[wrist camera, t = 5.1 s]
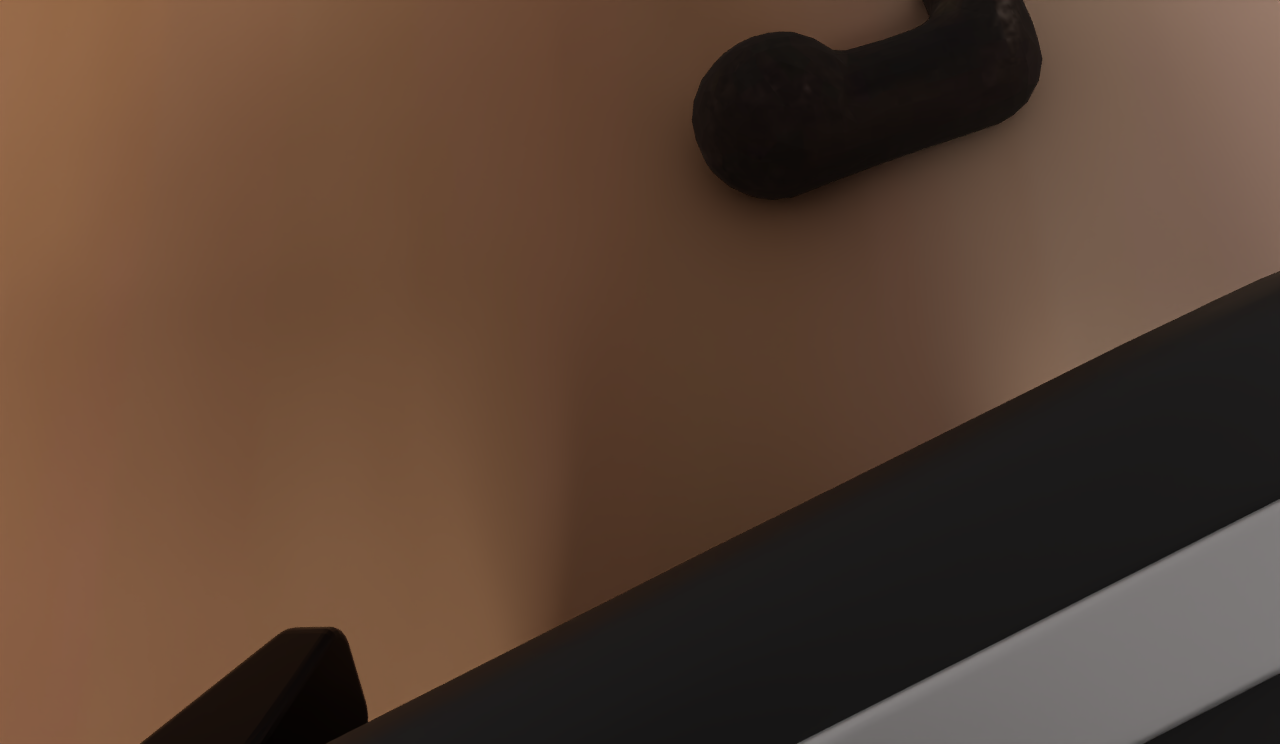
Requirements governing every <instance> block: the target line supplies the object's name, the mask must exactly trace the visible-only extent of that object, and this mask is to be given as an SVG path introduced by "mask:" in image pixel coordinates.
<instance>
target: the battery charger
mask: <svg viewBox="0 0 1280 744" xmlns="http://www.w3.org/2000/svg"><path fill="white" fill-rule="evenodd" d="M326 744H1280V271H1279V272H1277V273H1274V274H1272V275H1269V276H1267V277H1264V278H1262V279H1259V280H1257V281H1255V282H1253V283H1251V284H1249V285H1247V286H1244V287H1242V288H1240V289H1238V290H1236V291H1234V292H1232V293H1229V294H1227V295H1225V296H1223V297H1221V298H1219V299H1217V300H1215V301H1213V302H1210V303H1208V304H1206V305H1204V306H1202V307H1200V308H1198V309H1196V310H1194V311H1192V312H1189V313H1187V314H1185V315H1183V316H1181V317H1179V318H1177V319H1175V320H1173V321H1171V322H1168V323H1166V324H1164V325H1162V326H1160V327H1158V328H1156V329H1154V330H1152V331H1150V332H1148V333H1145V334H1143V335H1141V336H1139V337H1137V338H1135V339H1133V340H1131V341H1129V342H1127V343H1124V344H1122V345H1120V346H1118V347H1116V348H1114V349H1112V350H1110V351H1108V352H1106V353H1104V354H1102V355H1100V356H1098V357H1096V358H1094V359H1092V360H1090V361H1088V362H1086V363H1084V364H1082V365H1080V366H1078V367H1076V368H1074V369H1072V370H1070V371H1068V372H1066V373H1064V374H1062V375H1060V376H1058V377H1056V378H1054V379H1052V380H1050V381H1048V382H1046V383H1044V384H1042V385H1040V386H1038V387H1036V388H1034V389H1032V390H1030V391H1028V392H1026V393H1024V394H1022V395H1020V396H1018V397H1016V398H1014V399H1012V400H1010V401H1008V402H1006V403H1004V404H1002V405H1000V406H998V407H996V408H994V409H992V410H989V411H987V412H985V413H983V414H981V415H979V416H977V417H975V418H973V419H971V420H969V421H967V422H965V423H963V424H961V425H959V426H957V427H955V428H953V429H951V430H949V431H947V432H945V433H943V434H941V435H939V436H937V437H935V438H933V439H931V440H929V441H927V442H925V443H923V444H921V445H919V446H917V447H915V448H913V449H911V450H909V451H907V452H905V453H903V454H901V455H899V456H897V457H895V458H893V459H891V460H889V461H887V462H885V463H883V464H881V465H879V466H877V467H875V468H873V469H871V470H869V471H867V472H865V473H863V474H861V475H859V476H857V477H855V478H853V479H851V480H849V481H847V482H845V483H843V484H841V485H839V486H837V487H835V488H833V489H831V490H829V491H826V492H824V493H822V494H820V495H818V496H816V497H814V498H812V499H810V500H808V501H806V502H804V503H802V504H800V505H798V506H796V507H794V508H792V509H790V510H788V511H786V512H784V513H782V514H780V515H778V516H776V517H774V518H772V519H770V520H768V521H766V522H764V523H762V524H760V525H758V526H756V527H754V528H752V529H750V530H748V531H746V532H744V533H742V534H740V535H738V536H736V537H734V538H732V539H730V540H728V541H726V542H724V543H722V544H720V545H718V546H716V547H714V548H712V549H710V550H708V551H706V552H704V553H702V554H700V555H698V556H696V557H694V558H692V559H690V560H688V561H686V562H684V563H682V564H680V565H678V566H676V567H674V568H672V569H670V570H668V571H666V572H664V573H662V574H660V575H658V576H656V577H654V578H652V579H650V580H648V581H646V582H644V583H642V584H641V585H639V586H637V587H635V588H633V589H631V590H629V591H627V592H625V593H623V594H621V595H619V596H617V597H615V598H613V599H611V600H609V601H607V602H605V603H603V604H601V605H599V606H597V607H595V608H593V609H591V610H589V611H587V612H585V613H583V614H581V615H579V616H577V617H575V618H573V619H571V620H569V621H567V622H565V623H563V624H561V625H559V626H557V627H556V628H554V629H552V630H550V631H548V632H546V633H544V634H542V635H540V636H538V637H536V638H534V639H532V640H530V641H528V642H526V643H524V644H522V645H520V646H518V647H516V648H514V649H512V650H510V651H508V652H506V653H504V654H502V655H500V656H498V657H496V658H494V659H492V660H490V661H488V662H486V663H484V664H482V665H480V666H478V667H476V668H474V669H472V670H470V671H469V672H467V673H465V674H463V675H461V676H459V677H457V678H455V679H453V680H451V681H449V682H447V683H445V684H443V685H441V686H439V687H437V688H435V689H433V690H431V691H429V692H427V693H425V694H423V695H421V696H419V697H417V698H415V699H413V700H411V701H409V702H407V703H405V704H403V705H401V706H399V707H397V708H395V709H393V710H391V711H389V712H387V713H386V714H384V715H382V716H380V717H378V718H376V719H374V720H372V721H370V722H368V723H366V724H364V725H362V726H360V727H358V728H356V729H354V730H352V731H350V732H348V733H346V734H344V735H342V736H340V737H338V738H336V739H334V740H332V741H330V742H328V743H326Z"/></svg>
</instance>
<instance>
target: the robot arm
mask: <svg viewBox="0 0 1280 744" xmlns="http://www.w3.org/2000/svg"><path fill="white" fill-rule="evenodd" d="M366 723H368V711H367V705H366V701H365V697H364V694H363V690H362V687H361V684H360V680H359V677H358V673H357V670H356V667H355V663H354V660H353V656H352V653H351V650H350V646H349V643H348V641H347V639H346V636H345V635H344V634H343V632H342V631H340V630H339V629H337V628H334V627H295V628H290V629H287V630H284V631H283V632H281V633H280V634H278V635H277V636H275V637H274V638H273V639H272V640H270V641H269V642H268V643H267V644H265V645H264V646H263V647H262V648H260V649H259V650H258V651H256V652H255V653H254V654H253V655H251V656H250V657H249V658H248V659H246V660H245V661H244V662H243V663H241V664H240V665H239V666H237V667H236V668H235V669H234V670H232V671H231V672H230V673H229V674H227V675H226V676H225V677H224V678H222V679H221V680H220V681H219V682H217V683H216V684H215V685H213V686H212V687H211V688H210V689H208V690H207V691H206V692H205V693H203V694H202V695H201V696H200V697H198V698H197V699H196V700H195V701H193V702H192V703H191V704H189V705H188V706H187V707H186V708H184V709H183V710H182V711H181V712H179V713H178V714H177V715H176V716H174V717H173V718H172V719H171V720H169V721H168V722H167V723H165V724H164V725H163V726H162V727H160V728H159V729H158V730H157V731H155V732H154V733H153V734H152V735H150V736H149V737H148V738H147V739H145V740H144V741H143V742H141V743H140V744H326V743H328V742H330V741H332V740H334V739H336V738H338V737H340V736H342V735H344V734H346V733H348V732H350V731H352V730H354V729H356V728H358V727H360V726H362V725H364V724H366Z"/></svg>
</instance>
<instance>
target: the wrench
mask: <svg viewBox="0 0 1280 744" xmlns="http://www.w3.org/2000/svg"><path fill="white" fill-rule="evenodd" d="M923 2H924V4H925V6H926V9H927V11H928V13H929V15H930V17H929V20H928V21H927V22H925V23H924V24H923V25H921V26H919V27H917V28H915V29H913V30H910V31H907V32H904V33H902V34H899V35H896V36H893V37H890V38H888V39H885V40H881V41H878V42H874V43H871V44H867V45H864V46H860V47H857V48H853V49H850V50H846V51H844V50H832V49H830V48H829V47H827V46H825V45H824V44H822V43H820V42H819V41H817V40H815V39H813V38H810V37H807V36H804V35H801V34H798V33H795V32H773V33H766V34H762V35H758V36H754V37H751V38H749V39H747V40H745V41H743V42H741V43H738V44H737V45H735V46H734V47H733V48H731V49H730V50H728V51H727V52H725V53H724V54H723V55H722V56H721V57H720V58H719V59H718V60H717V61H716V62H715V63H714V64H713V66H712V67H711V68H710V70H709V71H708V72H707V73H706V75H705V76H704V77H703V79H702V80H701V83H700V86H699V89H698V91H697V94H696V97H695V99H694V104H693V116H692V123H693V128H694V133H695V138H696V141H697V143H698V146H699V148H700V150H701V153H702V155H703V157H704V160H705V162H706V164H707V165H708V166H709V168H710V169H711V170H712V172H713V173H714V174H716V175H717V176H718V177H719V178H720V179H721V180H723V181H724V182H725V183H726V184H727V185H729V186H730V187H732V188H734V189H736V190H738V191H740V192H743V193H745V194H748V195H750V196H753V197H757V198H764V199H772V200H774V199H782V198H791V197H794V196H797V195H799V194H802V193H805V192H807V191H810V190H813V189H815V188H818V187H820V186H823V185H826V184H828V183H831V182H833V181H836V180H838V179H841V178H844V177H846V176H849V175H852V174H854V173H857V172H860V171H862V170H865V169H868V168H871V167H873V166H876V165H879V164H881V163H884V162H887V161H890V160H893V159H896V158H899V157H902V156H905V155H907V154H910V153H913V152H916V151H919V150H922V149H925V148H928V147H931V146H934V145H937V144H939V143H943V142H946V141H949V140H952V139H955V138H958V137H961V136H964V135H967V134H970V133H973V132H976V131H979V130H982V129H984V128H987V127H990V126H993V125H996V124H999V123H1001V122H1002V121H1004V120H1006V119H1008V118H1009V117H1011V116H1013V115H1014V114H1015V113H1016V112H1017V111H1018V110H1019V109H1020V108H1021V107H1023V106H1024V105H1025V104H1026V103H1027V102H1028V100H1029V98H1030V96H1031V94H1032V92H1033V90H1034V89H1035V87H1036V85H1037V83H1038V81H1039V76H1040V70H1041V64H1042V55H1041V50H1040V46H1039V42H1038V38H1037V35H1036V32H1035V29H1034V25H1033V22H1032V20H1031V17H1030V15H1029V13H1028V11H1027V9H1026V6H1025V4H1024V2H1023V0H923Z"/></svg>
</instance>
